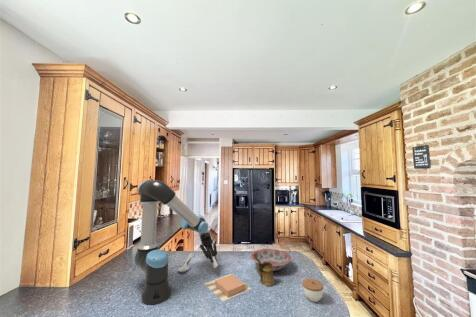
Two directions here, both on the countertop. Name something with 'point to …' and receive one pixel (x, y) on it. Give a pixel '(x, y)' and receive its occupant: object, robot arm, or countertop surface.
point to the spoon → (185, 264)
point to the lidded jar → (312, 289)
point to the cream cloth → (219, 293)
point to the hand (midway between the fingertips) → (215, 266)
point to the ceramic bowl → (272, 258)
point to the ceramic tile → (230, 285)
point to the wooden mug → (265, 273)
